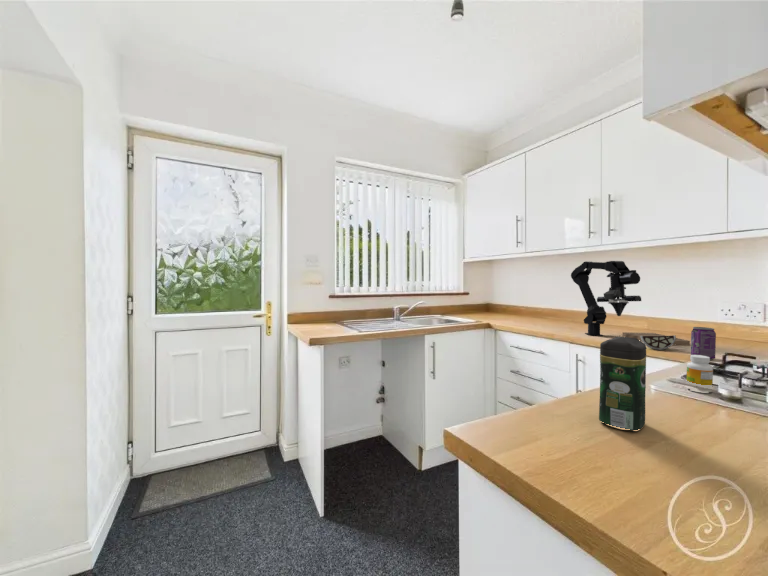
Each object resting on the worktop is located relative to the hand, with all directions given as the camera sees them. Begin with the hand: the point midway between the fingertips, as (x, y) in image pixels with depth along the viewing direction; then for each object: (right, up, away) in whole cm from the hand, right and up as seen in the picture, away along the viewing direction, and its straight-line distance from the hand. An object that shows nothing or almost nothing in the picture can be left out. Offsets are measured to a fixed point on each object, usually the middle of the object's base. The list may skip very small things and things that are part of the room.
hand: (619, 316), depth 174 cm
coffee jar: (-68, -15, -100) cm, 122 cm away
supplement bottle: (-31, -15, -78) cm, 86 cm away
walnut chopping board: (+18, -12, 0) cm, 22 cm away
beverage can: (+6, -14, -39) cm, 42 cm away
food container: (+6, -11, -16) cm, 21 cm away
